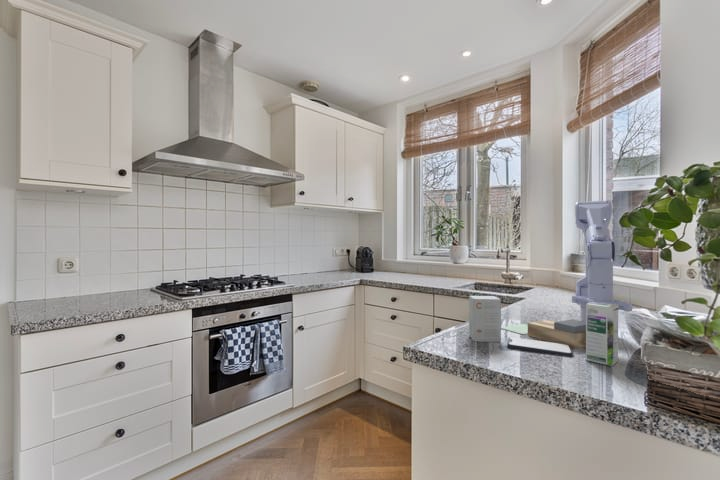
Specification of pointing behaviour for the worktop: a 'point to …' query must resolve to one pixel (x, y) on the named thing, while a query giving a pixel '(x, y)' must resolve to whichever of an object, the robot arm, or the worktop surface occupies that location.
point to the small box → (485, 318)
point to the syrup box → (602, 333)
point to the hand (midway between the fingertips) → (600, 332)
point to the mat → (517, 329)
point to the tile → (571, 326)
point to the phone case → (539, 346)
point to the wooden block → (555, 334)
